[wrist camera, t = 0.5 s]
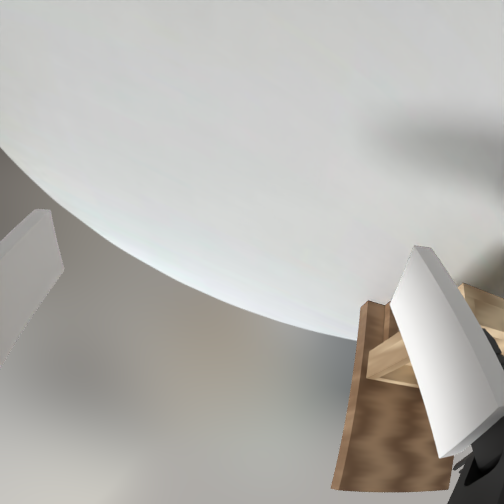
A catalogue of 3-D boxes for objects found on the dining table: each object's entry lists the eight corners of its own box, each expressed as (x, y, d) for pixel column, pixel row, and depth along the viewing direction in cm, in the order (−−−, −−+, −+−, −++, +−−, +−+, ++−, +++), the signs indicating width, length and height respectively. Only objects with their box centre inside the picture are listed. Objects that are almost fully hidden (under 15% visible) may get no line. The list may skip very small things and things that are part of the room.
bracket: (545, 263, 23) (563, 476, 11) (449, 332, 38) (437, 489, 26) (450, 212, 23) (455, 505, 11) (360, 307, 38) (330, 488, 26)
